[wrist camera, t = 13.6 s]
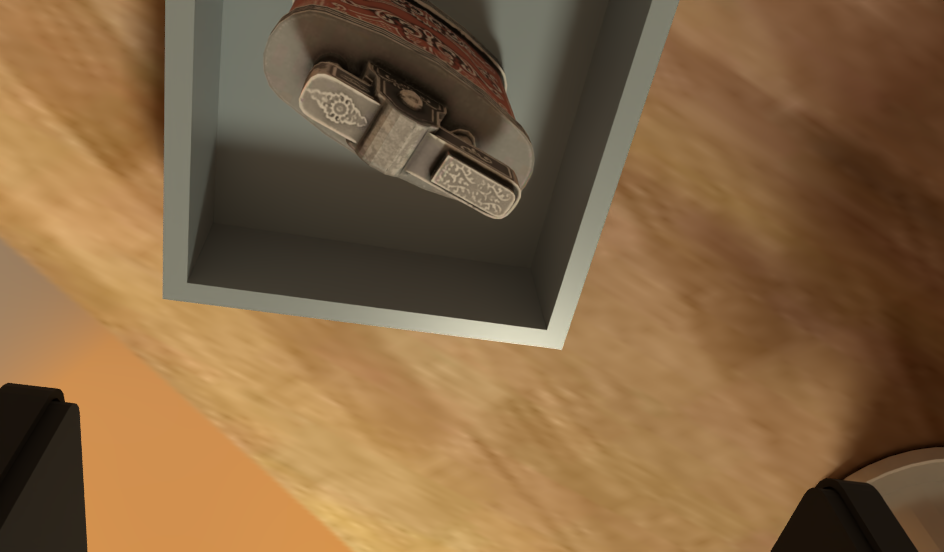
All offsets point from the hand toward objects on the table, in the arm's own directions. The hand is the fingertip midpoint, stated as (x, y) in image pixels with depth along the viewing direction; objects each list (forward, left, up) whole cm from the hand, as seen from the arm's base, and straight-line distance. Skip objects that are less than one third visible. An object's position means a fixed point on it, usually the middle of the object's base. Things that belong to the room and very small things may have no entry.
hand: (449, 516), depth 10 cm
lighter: (0, +1, -21) cm, 21 cm away
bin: (0, 0, -22) cm, 22 cm away
